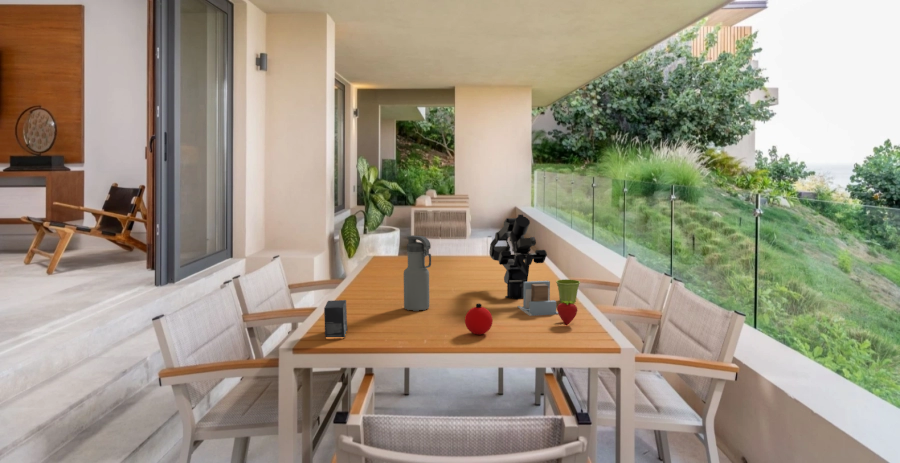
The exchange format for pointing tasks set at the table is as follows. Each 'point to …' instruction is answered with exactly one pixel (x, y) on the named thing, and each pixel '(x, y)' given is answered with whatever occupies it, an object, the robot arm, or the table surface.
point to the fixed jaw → (542, 307)
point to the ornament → (478, 320)
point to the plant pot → (568, 289)
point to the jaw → (528, 292)
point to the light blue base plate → (530, 313)
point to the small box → (335, 318)
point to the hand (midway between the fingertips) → (527, 274)
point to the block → (539, 292)
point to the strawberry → (567, 311)
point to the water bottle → (417, 274)
